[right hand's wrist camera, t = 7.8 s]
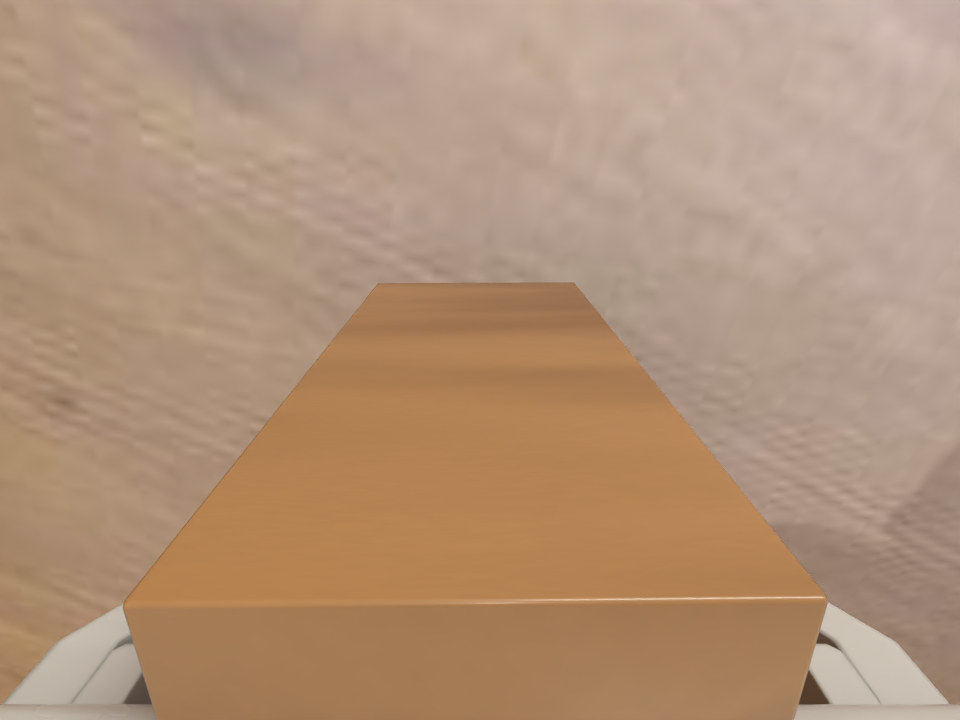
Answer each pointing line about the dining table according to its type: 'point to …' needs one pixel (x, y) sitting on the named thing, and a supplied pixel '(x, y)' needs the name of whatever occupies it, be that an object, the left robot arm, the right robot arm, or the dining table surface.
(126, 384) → the dining table surface
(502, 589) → the box
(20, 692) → the right robot arm
